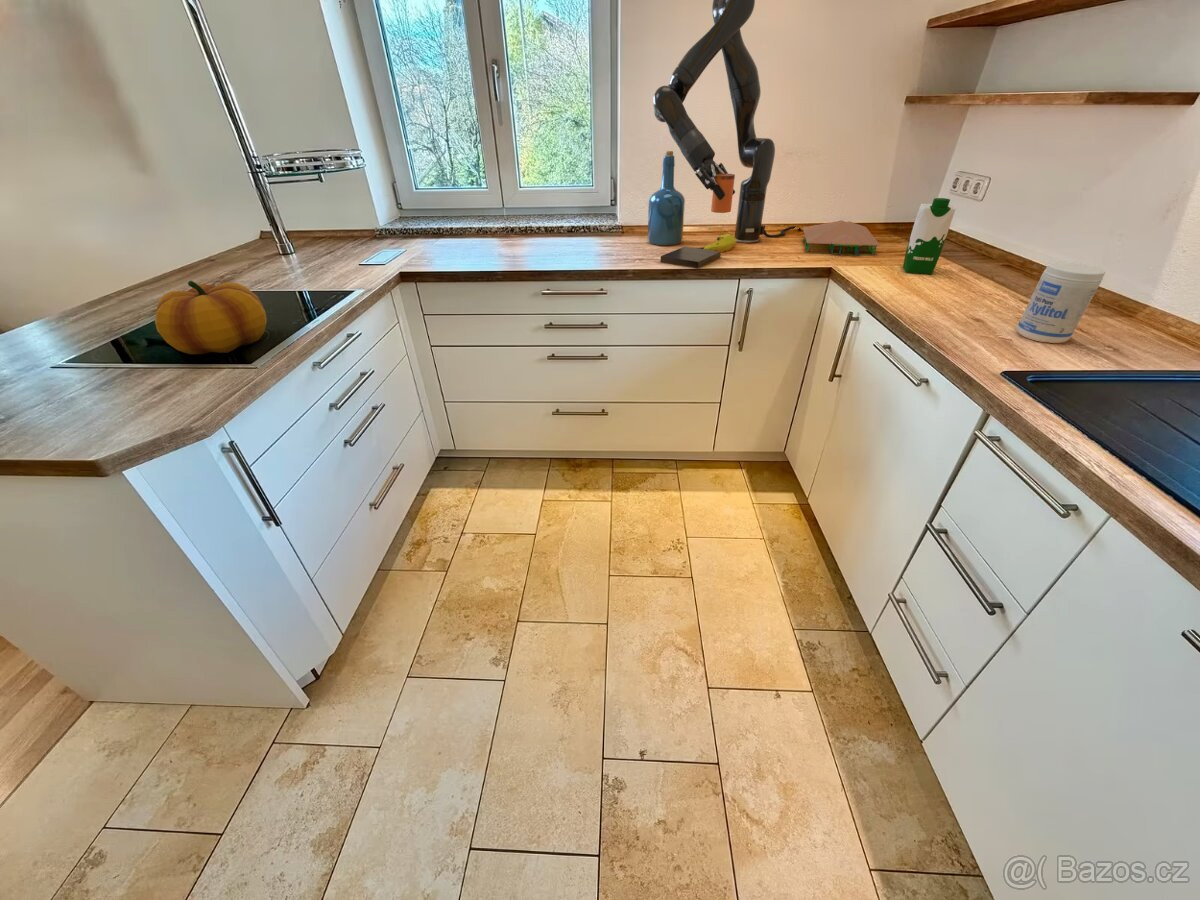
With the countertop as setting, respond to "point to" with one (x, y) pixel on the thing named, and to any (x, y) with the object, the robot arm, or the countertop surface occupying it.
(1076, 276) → the supplement tub
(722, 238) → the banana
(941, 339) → the countertop surface
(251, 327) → the decorative pumpkin
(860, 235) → the house
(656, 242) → the wine bottle
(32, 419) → the countertop surface
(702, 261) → the board
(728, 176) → the tin
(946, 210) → the milk carton
